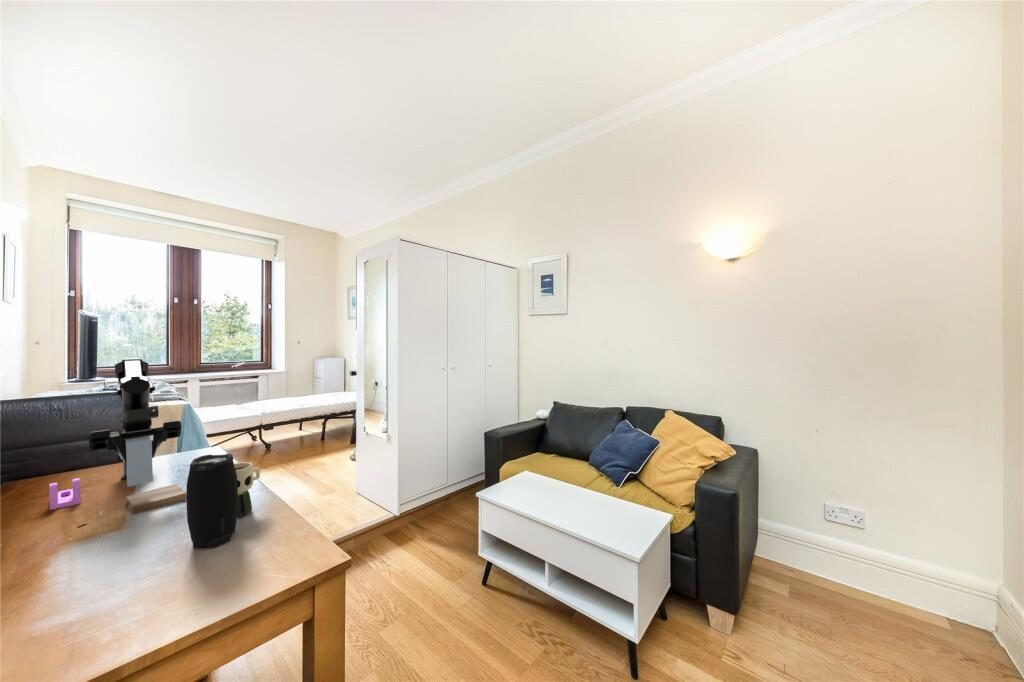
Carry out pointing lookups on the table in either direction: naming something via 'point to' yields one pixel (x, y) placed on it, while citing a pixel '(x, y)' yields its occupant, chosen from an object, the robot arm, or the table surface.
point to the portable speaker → (212, 500)
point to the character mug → (245, 485)
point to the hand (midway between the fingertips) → (139, 459)
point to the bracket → (60, 501)
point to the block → (139, 461)
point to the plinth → (155, 498)
